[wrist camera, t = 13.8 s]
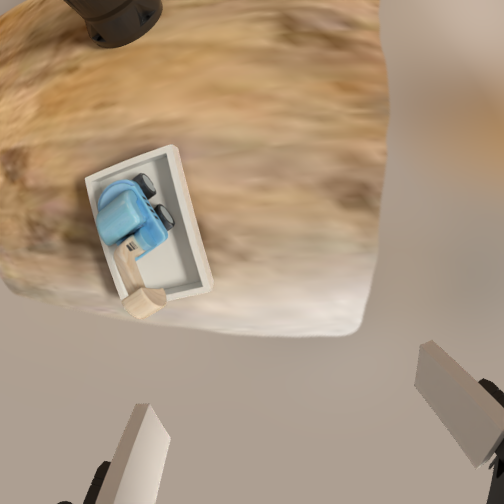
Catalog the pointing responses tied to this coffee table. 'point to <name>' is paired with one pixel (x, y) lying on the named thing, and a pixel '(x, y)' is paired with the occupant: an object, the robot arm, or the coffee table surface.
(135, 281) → the toy excavator
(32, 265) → the coffee table surface
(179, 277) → the white tray
